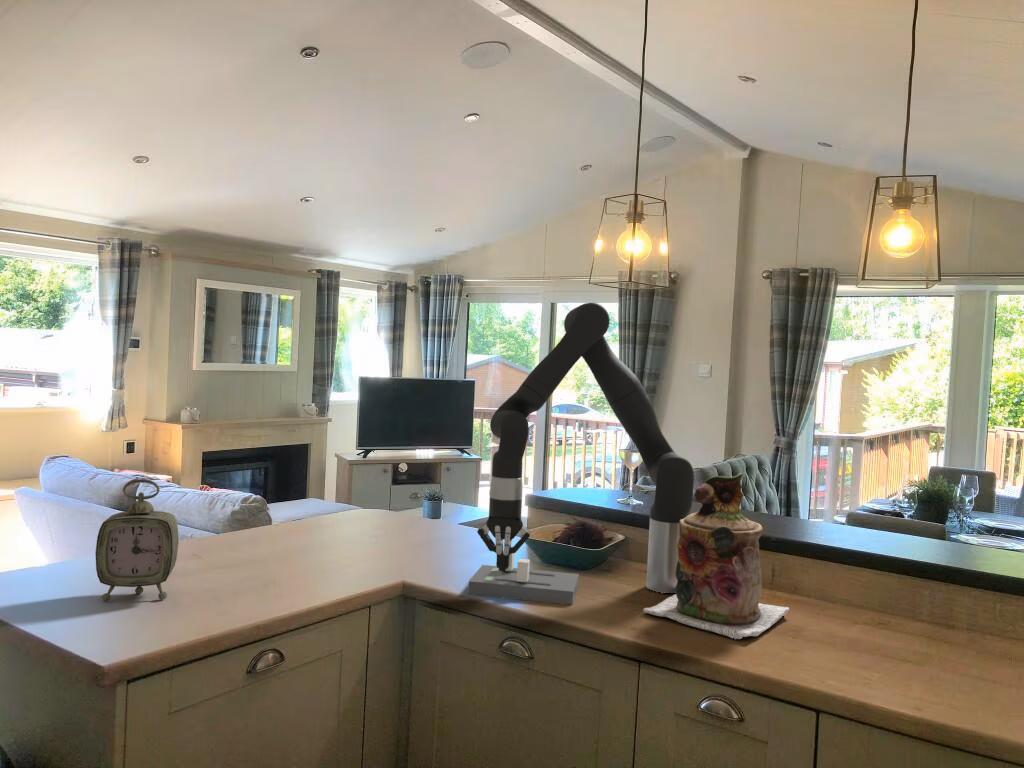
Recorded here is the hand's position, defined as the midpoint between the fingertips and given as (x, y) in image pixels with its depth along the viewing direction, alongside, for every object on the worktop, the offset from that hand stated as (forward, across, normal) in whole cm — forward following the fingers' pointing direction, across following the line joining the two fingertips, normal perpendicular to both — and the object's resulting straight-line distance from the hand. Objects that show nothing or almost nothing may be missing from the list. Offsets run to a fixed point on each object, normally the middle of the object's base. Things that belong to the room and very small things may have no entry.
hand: (502, 569), depth 173 cm
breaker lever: (+2, 0, -8) cm, 8 cm away
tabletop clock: (+5, +73, +29) cm, 79 cm away
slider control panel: (+5, -5, -4) cm, 8 cm away
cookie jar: (+6, -48, +1) cm, 49 cm away
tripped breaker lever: (+2, -5, 0) cm, 5 cm away
